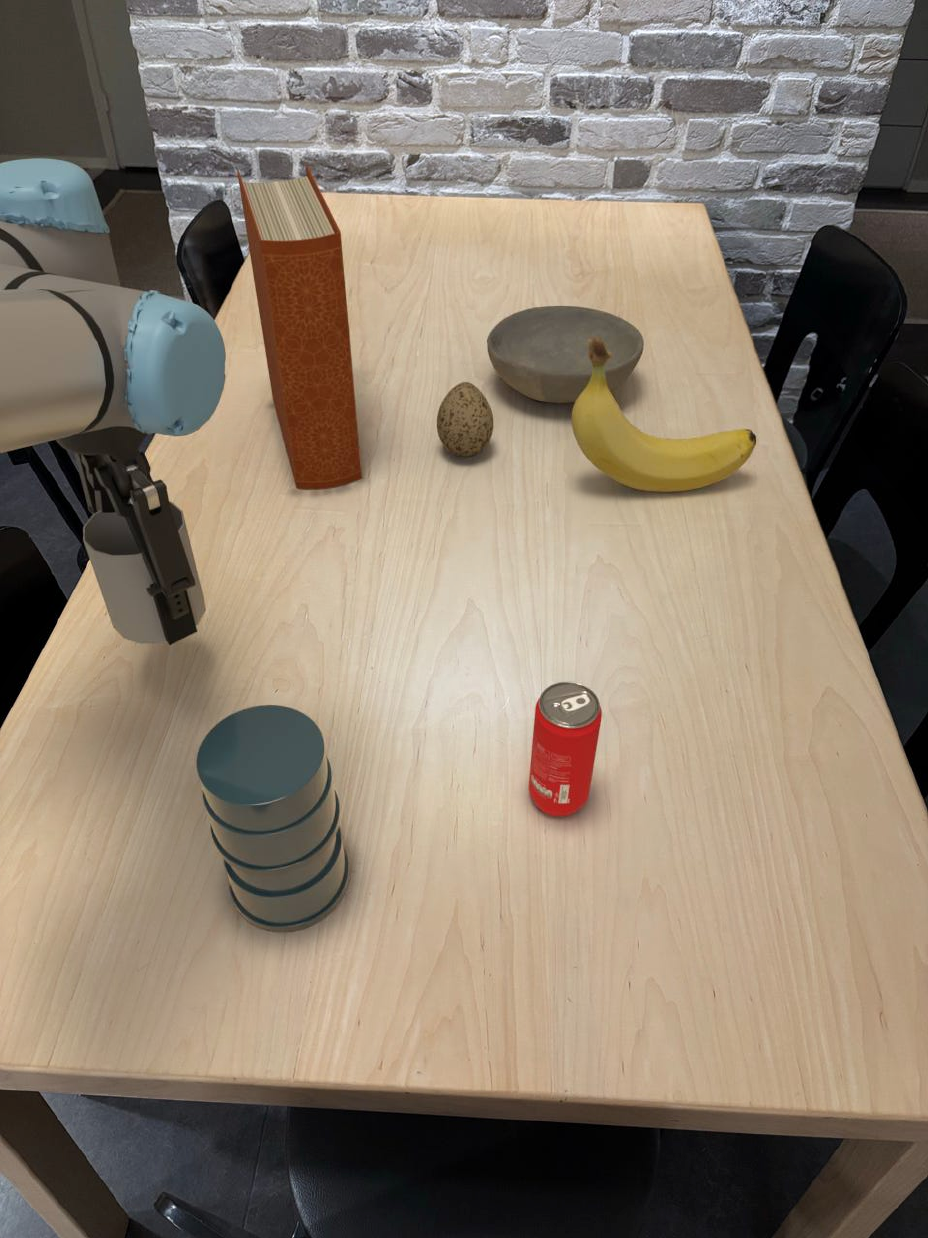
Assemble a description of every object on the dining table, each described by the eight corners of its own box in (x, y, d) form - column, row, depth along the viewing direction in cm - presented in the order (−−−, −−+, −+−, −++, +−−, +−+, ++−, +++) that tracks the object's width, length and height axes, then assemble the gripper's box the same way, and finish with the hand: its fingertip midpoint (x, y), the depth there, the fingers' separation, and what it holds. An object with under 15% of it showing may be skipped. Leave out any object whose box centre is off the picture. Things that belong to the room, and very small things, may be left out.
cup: (96, 609, 85) (65, 522, 78) (176, 571, 89) (153, 485, 82) (141, 657, 80) (112, 569, 73) (222, 614, 84) (202, 528, 77)
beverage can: (517, 783, 80) (524, 691, 71) (569, 763, 81) (582, 671, 73) (545, 829, 76) (556, 738, 68) (599, 808, 78) (615, 716, 70)
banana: (737, 467, 115) (775, 317, 101) (752, 494, 111) (794, 341, 97) (561, 477, 113) (575, 325, 100) (569, 505, 109) (585, 350, 95)
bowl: (544, 444, 119) (549, 389, 113) (457, 377, 131) (457, 325, 126) (666, 399, 127) (675, 346, 122) (573, 340, 140) (578, 290, 134)
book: (272, 399, 127) (236, 170, 106) (331, 391, 128) (307, 164, 108) (297, 493, 111) (261, 244, 90) (363, 482, 112) (342, 235, 92)
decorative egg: (501, 461, 116) (504, 391, 109) (448, 473, 114) (448, 402, 107) (479, 433, 121) (481, 364, 114) (429, 444, 119) (427, 374, 112)
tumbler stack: (270, 956, 68) (234, 836, 57) (209, 870, 73) (165, 745, 62) (372, 884, 72) (357, 759, 61) (308, 808, 78) (283, 680, 67)
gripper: (206, 428, 65) (253, 654, 80) (83, 324, 76) (145, 538, 92) (105, 465, 61) (174, 694, 76) (-7, 350, 73) (73, 569, 88)
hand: (158, 609), depth 84 cm, fingers closed on cup, 8 cm apart
